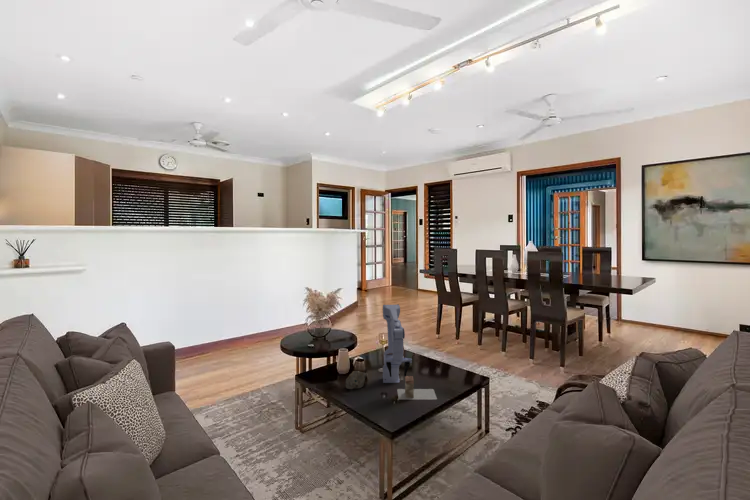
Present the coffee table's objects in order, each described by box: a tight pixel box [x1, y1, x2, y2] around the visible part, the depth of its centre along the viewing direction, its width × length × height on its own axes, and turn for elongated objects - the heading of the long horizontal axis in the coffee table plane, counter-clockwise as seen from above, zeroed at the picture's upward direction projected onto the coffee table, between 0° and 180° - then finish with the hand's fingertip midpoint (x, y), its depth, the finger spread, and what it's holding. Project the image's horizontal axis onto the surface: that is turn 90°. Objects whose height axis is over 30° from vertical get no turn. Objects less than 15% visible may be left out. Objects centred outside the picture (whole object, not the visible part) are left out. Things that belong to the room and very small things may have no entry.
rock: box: [345, 370, 368, 390], centre depth 202 cm, size 12×7×10 cm, turn 121°
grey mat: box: [396, 388, 438, 401], centre depth 192 cm, size 20×12×1 cm, turn 90°
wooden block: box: [404, 375, 415, 398], centre depth 191 cm, size 4×6×9 cm, turn 0°
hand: (397, 376), depth 191 cm, fingers open, 7 cm apart
